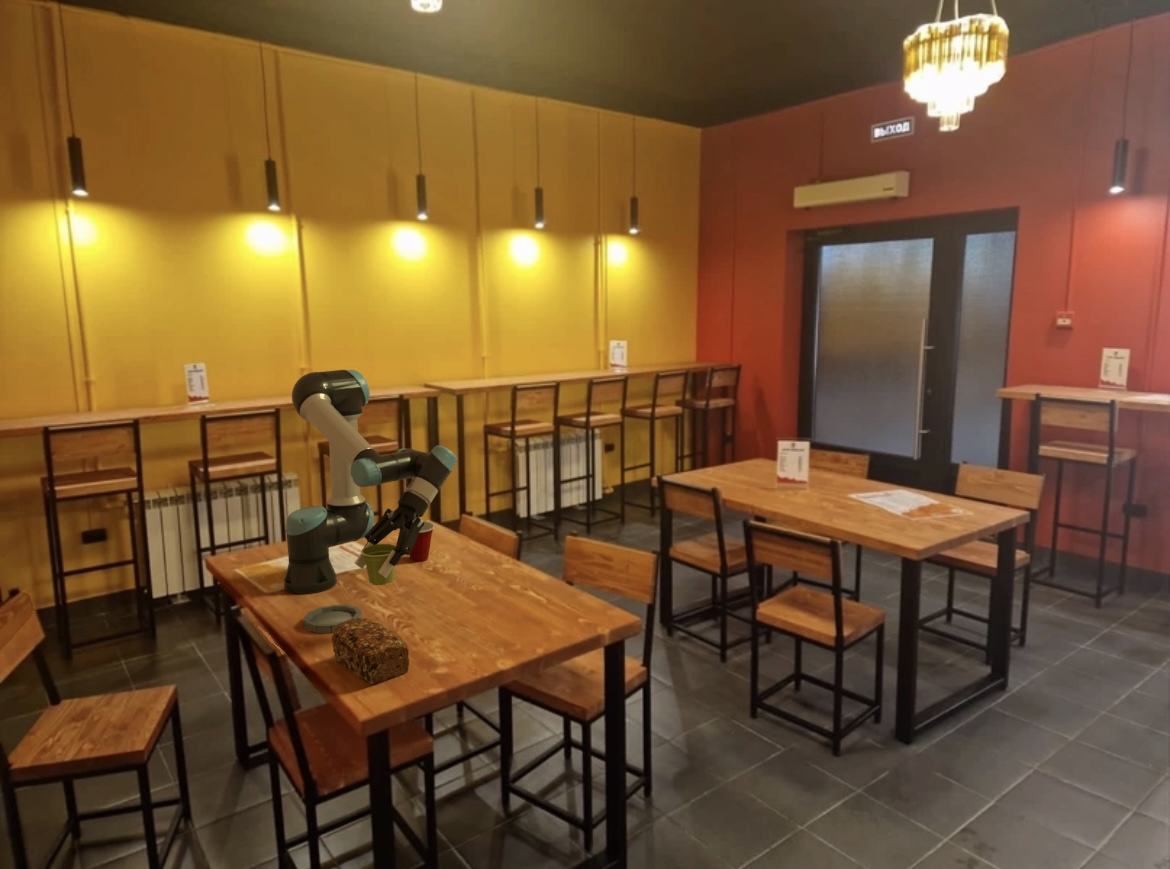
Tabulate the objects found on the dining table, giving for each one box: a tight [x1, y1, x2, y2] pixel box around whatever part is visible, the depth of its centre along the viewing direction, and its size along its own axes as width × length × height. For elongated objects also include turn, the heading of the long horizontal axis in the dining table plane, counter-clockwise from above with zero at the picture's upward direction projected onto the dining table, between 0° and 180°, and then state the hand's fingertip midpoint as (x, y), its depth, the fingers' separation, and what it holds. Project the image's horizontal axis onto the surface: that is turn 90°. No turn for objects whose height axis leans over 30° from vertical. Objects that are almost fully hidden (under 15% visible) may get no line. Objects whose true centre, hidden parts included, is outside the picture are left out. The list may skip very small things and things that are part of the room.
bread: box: [331, 617, 410, 685], centre depth 184 cm, size 19×11×10 cm, turn 43°
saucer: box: [303, 604, 363, 634], centre depth 211 cm, size 14×14×2 cm
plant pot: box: [360, 543, 396, 586], centre depth 203 cm, size 9×9×9 cm
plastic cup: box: [408, 520, 435, 563], centre depth 262 cm, size 11×11×12 cm
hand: (370, 570), depth 201 cm, fingers closed on plant pot, 9 cm apart
